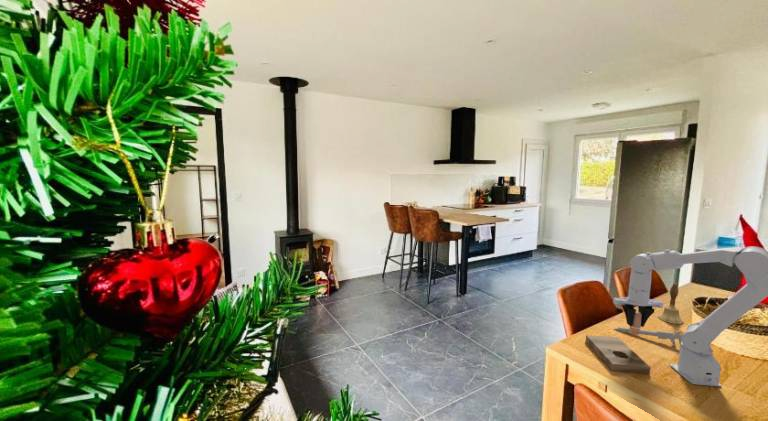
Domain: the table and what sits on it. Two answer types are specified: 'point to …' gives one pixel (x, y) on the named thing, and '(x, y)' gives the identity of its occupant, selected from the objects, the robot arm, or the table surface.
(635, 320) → the peg
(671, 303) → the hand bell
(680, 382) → the table surface
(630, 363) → the board
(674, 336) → the caliper
